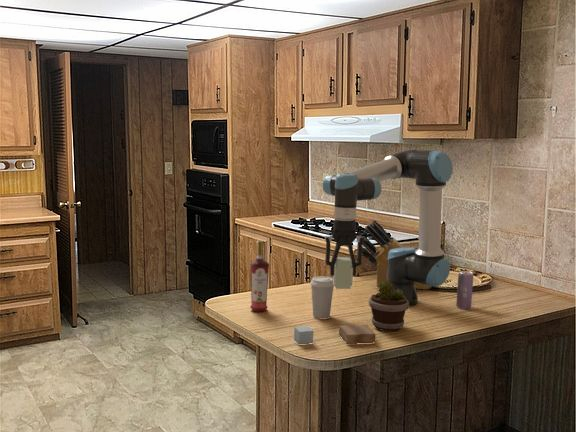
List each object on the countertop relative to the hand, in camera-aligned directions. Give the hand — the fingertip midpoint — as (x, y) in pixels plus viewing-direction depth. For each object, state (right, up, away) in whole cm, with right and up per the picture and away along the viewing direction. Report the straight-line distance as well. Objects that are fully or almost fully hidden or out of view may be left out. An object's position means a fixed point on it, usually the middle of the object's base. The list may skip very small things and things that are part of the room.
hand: (342, 284), depth 221 cm
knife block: (+31, -9, +74) cm, 80 cm away
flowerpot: (+18, -18, +14) cm, 28 cm away
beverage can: (+54, -14, +41) cm, 69 cm away
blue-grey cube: (-14, -19, -5) cm, 24 cm away
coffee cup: (-6, -15, +25) cm, 29 cm away
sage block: (0, -1, 0) cm, 1 cm away
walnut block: (+5, -20, 0) cm, 20 cm away
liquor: (-31, -14, +30) cm, 45 cm away
